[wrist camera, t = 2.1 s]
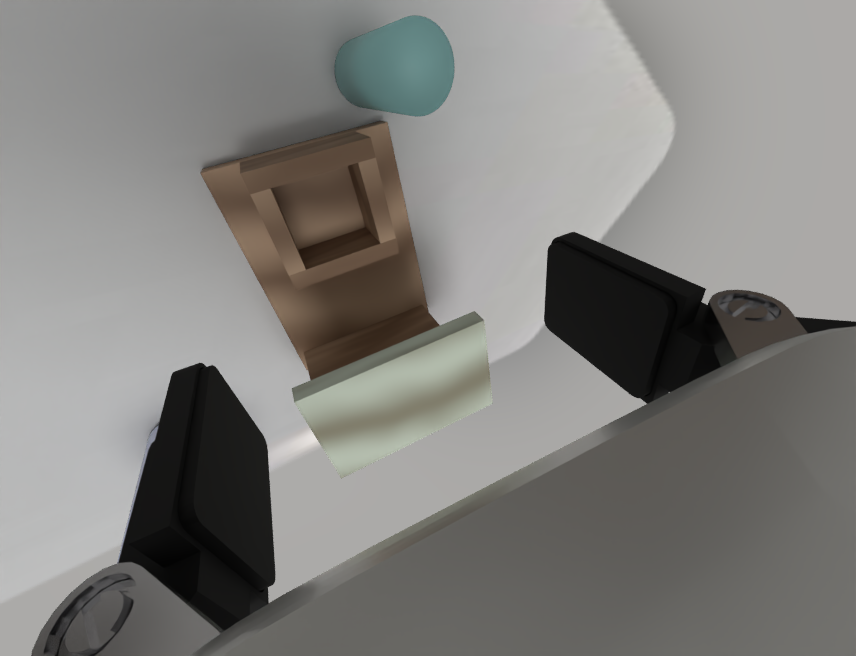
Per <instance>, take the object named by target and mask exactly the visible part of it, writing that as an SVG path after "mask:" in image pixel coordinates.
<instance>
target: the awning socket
mask: <svg viewBox="0 0 856 656" xmlns="http://www.w3.org/2000/svg"><path fill="white" fill-rule="evenodd" d="M201 175H202V177H203V179H204V181H205V183H206V185H207V186H208V188H209V190H210V192H211V194H212V196H213V197H214V199H215V201H216V203H217V205H218V207H219V209H220V210H221V212H222V214H223V216H224V218H225V220H226V222H227V223H228V225H229V227H230V229H231V231H232V233H233V234H234V236H235V238H236V240H237V242H238V244H239V246H240V247H241V249H242V251H243V253H244V255H245V257H246V259H247V260H248V262H249V264H250V266H251V268H252V270H253V272H254V273H255V275H256V277H257V279H258V281H259V283H260V284H261V286H262V288H263V290H264V292H265V294H266V296H267V297H268V299H269V301H270V303H271V305H272V307H273V309H274V310H275V312H276V314H277V316H278V318H279V320H280V321H281V323H282V325H283V327H284V329H285V331H286V333H287V334H288V336H289V338H290V340H291V342H292V344H293V346H294V347H295V349H296V351H297V353H298V355H299V357H300V358H301V360H302V362H303V364H304V366H305V368H306V370H308V371H309V375H310V379H311V381H308V382H306V383H304V384H301V385H299V386H296V387H294V388H292V392H293V397H294V403H295V404H296V406H297V407H298V409H299V411H300V412H301V414H302V415H303V417H304V419H305V420H306V422H307V424H308V425H309V427H310V428H311V430H312V432H313V433H314V435H315V437H316V438H317V440H318V441H319V443H320V445H321V446H322V448H323V449H324V451H325V453H326V454H327V456H328V458H329V459H330V461H331V462H332V464H333V466H334V467H335V469H336V470H337V472H338V474H339V475H340V477H341V478H343V477H345V476H347V475H349V474H351V473H353V472H355V471H357V470H359V469H361V468H363V467H366V466H367V465H369V464H372V463H374V462H376V461H377V460H380V459H382V458H383V457H386V456H388V455H390V454H391V453H394V452H396V451H398V450H400V449H402V448H404V447H406V446H408V445H410V444H412V443H414V442H416V441H418V440H420V439H422V438H424V437H426V436H428V435H430V434H432V433H434V432H436V431H438V430H440V429H442V428H444V427H446V426H448V425H450V424H452V423H454V422H456V421H458V420H460V419H462V418H464V417H466V416H468V415H471V414H472V413H474V412H476V411H479V410H481V409H483V408H485V407H487V406H489V405H491V404H492V393H491V383H490V373H489V363H488V353H487V344H486V334H485V324H484V320H483V319H482V318H481V317H480V316H479V315H478V314H477V313H476V312H475V311H474V312H471V313H469V314H466V315H464V316H462V317H459V318H457V319H455V320H452V321H450V322H448V323H445V324H443V325H439V324H438V323H437V322H436V321H435V319H434V318H433V317H432V316H431V315H430V314H429V312H428V307H427V302H426V298H425V293H424V289H423V284H422V279H421V275H420V270H419V266H418V261H417V256H416V252H415V247H414V243H413V238H412V233H411V229H410V224H409V220H408V215H407V210H406V206H405V201H404V197H403V192H402V187H401V183H400V178H399V174H398V169H397V164H396V160H395V155H394V151H393V146H392V141H391V137H390V132H389V128H388V123H387V122H384V121H378V122H375V123H371V124H367V125H364V126H360V127H356V128H352V129H349V130H345V131H341V132H338V133H334V134H330V135H327V136H323V137H319V138H315V139H312V140H308V141H304V142H301V143H297V144H293V145H290V146H286V147H282V148H279V149H275V150H271V151H267V152H264V153H260V154H256V155H253V156H249V157H245V158H242V159H238V160H234V161H230V162H227V163H223V164H219V165H216V166H212V167H208V168H205V169H202V171H201Z"/></svg>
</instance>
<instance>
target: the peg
mask: <svg viewBox="0 0 856 656" xmlns="http://www.w3.org/2000/svg"><path fill="white" fill-rule="evenodd" d="M335 78H336V82H337V85H338V87H339V89H340V91H341V93H342V94H343V96H344V97H345V98H346V99H347V100H348V101H349V102H350V103H352V104H354V105H356V106H358V107H362V108H368V109H374V110H380V111H386V112H392V113H398V114H404V115H410V116H425V115H428V114H430V113H432V112H434V111H435V110H437V109H438V108H439V107H440V106H441V105H442V104H443V102H444V101H445V100H446V98H447V96H448V94H449V92H450V89H451V87H452V83H453V78H454V57H453V52H452V48H451V45H450V43H449V41H448V38H447V36H446V35H445V33H444V32H443V30H442V29H441V28H440V27H439V26H438V25H437V24H436V23H435V22H433V21H432V20H430V19H428V18H426V17H422V16H408V17H405V18H402V19H400V20H397V21H395V22H393V23H390V24H388V25H385V26H383V27H381V28H378V29H376V30H373V31H371V32H368V33H366V34H364V35H361V36H359V37H356V38H354V39H351V40H349V41H348V42H346V43H345V44H344V45H343V46H342V47H341V49H340V50H339V52H338V54H337V57H336V60H335Z"/></svg>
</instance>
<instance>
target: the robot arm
mask: <svg viewBox="0 0 856 656" xmlns="http://www.w3.org/2000/svg"><path fill="white" fill-rule="evenodd" d="M705 290H706V289H705V288H703V287H701V286H698V285H696V284H694V283H691V282H689V281H687V280H684V279H682V278H680V277H677V276H675V275H673V274H670V273H668V272H666V271H663V270H661V269H659V268H657V267H654V266H652V265H650V264H647V263H645V262H643V261H640V260H638V259H636V258H634V257H631V256H629V255H627V254H624V253H622V252H620V251H617V250H615V249H613V248H610V247H608V246H606V245H604V244H601V243H599V242H597V241H594V240H592V239H590V238H587V237H585V236H583V235H580V234H578V233H575V232H571V233H568V234H565V235H562V236H560V237H557V238H555V239H554V240H553V241H552V243H551V245H550V246H549V248H548V257H547V276H546V295H545V314H544V321H545V324H546V326H547V328H548V329H549V330H550V331H551V332H552V333H554V334H555V335H556V336H557V337H559V338H560V339H561V340H562V341H564V342H565V343H566V344H568V345H569V346H570V347H571V348H572V349H574V350H575V351H576V352H578V353H579V354H580V355H581V356H583V357H584V358H585V359H587V360H588V361H589V362H590V363H591V364H593V365H594V366H595V367H596V368H598V369H599V370H601V371H602V372H603V373H604V374H605V375H607V376H608V377H609V378H611V379H612V380H613V381H614V382H615V383H617V384H618V385H619V386H620V387H622V388H623V389H624V390H626V391H627V392H628V393H629V394H631V395H632V396H634V397H636V398H641V399H642V400H643V401H645V402H646V403H647V404H646V405H644V406H642V407H641V408H639V409H637V410H635V411H633V412H631V413H629V414H627V415H625V416H623V417H621V418H619V419H617V420H615V421H613V422H611V423H609V424H608V425H605V426H603V427H601V428H600V429H597V430H596V431H594V432H592V433H590V434H588V435H586V436H584V437H582V438H580V439H578V440H576V441H574V442H572V443H570V444H568V445H566V446H564V447H563V448H561V449H559V450H557V451H555V452H553V453H551V454H549V455H547V456H545V457H543V458H541V459H539V460H537V461H535V462H534V463H531V464H530V465H528V466H526V467H524V468H522V469H520V470H518V471H516V472H514V473H512V474H510V475H508V476H506V477H504V478H502V479H500V480H499V481H497V482H495V483H493V484H491V485H489V486H487V487H485V488H483V489H481V490H479V491H477V492H476V493H474V494H472V495H470V496H468V497H466V498H464V499H462V500H460V501H458V502H456V503H455V504H453V505H451V506H449V507H447V508H445V509H443V510H441V511H439V512H437V513H435V514H433V515H432V516H430V517H428V518H426V519H424V520H422V521H420V522H418V523H416V524H414V525H412V526H410V527H408V528H407V529H405V530H403V531H401V532H399V533H397V534H395V535H393V536H391V537H389V538H388V539H386V540H384V541H382V542H380V543H378V544H376V545H374V546H372V547H370V548H368V549H367V550H365V551H363V552H361V553H359V554H357V555H356V556H354V557H352V558H350V559H348V560H347V561H345V562H343V563H341V564H339V565H337V566H335V567H333V568H332V569H330V570H328V571H326V572H324V573H322V574H321V575H319V576H317V577H315V578H313V579H311V580H310V581H308V582H306V583H304V584H302V585H301V586H298V587H297V588H295V589H293V590H291V591H289V592H287V593H286V594H284V595H282V596H281V597H279V598H277V599H276V600H274V601H272V602H270V603H268V587H269V586H271V585H273V584H274V582H275V562H274V547H273V546H274V545H273V530H272V514H271V498H270V481H269V465H268V449H267V444H266V441H265V438H264V436H263V435H262V433H261V432H260V430H259V429H258V427H257V426H256V424H255V423H254V421H253V420H252V419H251V417H250V416H249V414H248V413H247V411H246V410H245V408H244V407H243V406H242V404H241V403H240V401H239V400H238V398H237V397H236V396H235V394H234V393H233V391H232V390H231V388H230V387H229V385H228V384H227V383H226V381H225V380H224V378H223V377H222V375H221V374H220V372H219V371H218V370H217V368H216V367H215V366H213V365H211V366H208V367H206V366H205V365H204V364H203V363H198V364H195V365H192V366H190V367H187V368H184V369H181V370H178V371H175V372H173V374H172V376H171V379H170V383H169V387H168V391H167V395H166V399H165V403H164V407H163V410H162V414H161V418H160V422H159V426H158V430H157V434H156V438H155V441H154V442H152V443H151V445H150V447H149V450H148V453H147V457H146V461H145V464H144V468H143V472H142V476H141V479H140V483H139V487H138V491H137V494H136V498H135V502H134V506H133V509H132V513H131V517H130V520H129V524H128V528H127V532H126V535H125V539H124V543H123V547H122V550H121V554H120V558H119V562H118V563H117V564H115V565H112V566H110V567H107V568H104V569H102V570H101V571H99V572H98V573H96V574H94V575H93V576H91V577H90V578H88V579H86V580H85V581H84V582H83V583H82V584H81V585H79V586H78V587H77V588H76V589H75V590H74V591H72V592H71V593H70V594H69V595H68V596H67V597H66V598H65V600H64V601H63V602H62V603H61V604H60V605H59V606H58V607H57V609H56V610H55V611H54V612H53V614H52V615H51V617H50V618H49V620H48V621H47V623H46V624H45V626H44V627H43V629H42V630H41V632H40V634H39V636H38V639H37V641H36V643H35V646H34V648H33V650H32V655H31V656H856V322H851V321H839V320H825V319H813V318H800V317H795V316H794V315H793V314H792V312H791V311H790V310H789V309H788V307H786V306H785V305H784V304H783V303H782V302H780V301H778V300H777V299H775V298H773V297H770V296H767V295H764V294H761V293H757V292H752V291H746V290H726V291H722V292H718V293H716V294H714V295H713V296H712V297H711V299H710V301H709V303H708V305H706V304H704V303H702V302H701V301H702V298H703V295H704V293H705ZM668 392H670V393H668Z"/></svg>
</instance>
